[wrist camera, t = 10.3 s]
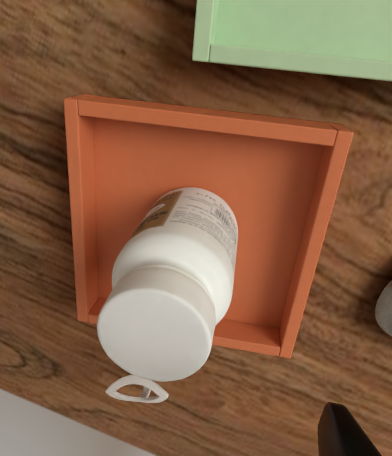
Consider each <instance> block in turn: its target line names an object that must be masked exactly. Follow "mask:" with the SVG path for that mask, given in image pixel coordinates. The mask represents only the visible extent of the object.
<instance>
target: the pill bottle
mask: <svg viewBox="0 0 392 456" xmlns="http://www.w3.org/2000/svg"><path fill="white" fill-rule="evenodd" d="M237 242H238V226H237V221H236V218H235V216H234V213H233V211H232V210H231V208H230V207H229V206H228V204H227V203H226V202H225V201H224V200H223V199H222V198H220V197H219V196H217V195H216V194H214V193H212V192H210V191H207V190H205V189H201V188H195V187H185V188H179V189H175V190H172V191H170V192H168V193H166V194H164V195H163V196H161V197H160V198H159V199H158V200H157V201H156V202H155V204H154V205H153V207H152V208H151V209H150V211H149V212H148V213H147V215H146V216H145V218H144V219H143V221H142V222H141V224H140V225H139V226H138V228H137V229H136V230H135V232H134V233H133V234H132V236H131V237H130V239H129V240H128V242H127V243H126V244H125V246H124V247H123V249H122V250H121V252H120V253H119V255H118V257H117V259H116V261H115V264H114V267H113V271H112V289H113V290H112V292H111V293H110V295H109V297H108V298H107V300H106V302H105V303H104V305H103V307H102V309H101V311H100V314H99V316H98V322H97V333H98V337H99V340H100V343H101V346H102V347H103V349H104V351H105V352H106V354H107V355H108V356H109V357H110V358H111V359H112V360H113V362H115V363H116V364H117V365H118V366H120V367H121V368H122V369H124V370H125V371H127V372H129V373H131V374H133V375H135V376H137V377H140V378H143V379H147V380H152V381H174V380H179V379H183V378H186V377H188V376H190V375H192V374H193V373H195V372H196V371H197V370H199V369H200V368H201V367H202V365H203V364H204V363H205V362H206V360H207V358H208V356H209V354H210V351H211V347H212V341H213V335H214V330H215V325H217V324H218V323H219V322H220V320H221V319H222V318H223V317H224V316H225V314H226V312H227V310H228V308H229V306H230V303H231V299H232V293H233V283H234V272H235V262H236V252H237Z"/></svg>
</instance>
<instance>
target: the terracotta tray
mask: <svg viewBox="0 0 392 456" xmlns="http://www.w3.org/2000/svg"><path fill="white" fill-rule="evenodd" d="M64 113H65V129H66V145H67V161H68V176H69V192H70V208H71V224H72V239H73V255H74V271H75V287H76V303H77V318H78V321H81V322H89V323H93V324H97V322H98V316H99V314H100V311H101V309H102V307H103V305H104V303H105V302H106V300H107V298H108V297H109V295H110V293H111V292H112V290H113V289H112V271H113V267H114V264H115V261H116V259H117V257H118V255H119V253H120V252H121V250H122V249H123V247H124V246H125V244H126V243H127V242H128V240H129V239H130V237H131V236H132V234H133V233H134V232H135V230H136V229H137V228H138V226H139V225H140V224H141V222H142V221H143V219H144V218H145V216H146V215H147V213H148V212H149V211H150V209H151V208H152V207H153V205H154V204H155V202H156V201H157V200H158V199H159V198H160V197H161V196H163V195H164V194H166V193H168V192H170V191H172V190H175V189H179V188H185V187H195V188H201V189H205V190H207V191H210V192H212V193H214V194H216V195H217V196H219V197H220V198H222V199H223V200H224V201H225V202H226V203H227V204H228V206H229V207H230V208H231V210H232V211H233V213H234V216H235V218H236V221H237V226H238V242H237V252H236V262H235V272H234V283H233V293H232V299H231V303H230V306H229V308H228V310H227V312H226V314H225V316H224V317H223V318H222V319H221V320H220V322H219V323H218V324H217V325H215V330H214V335H213V341H212V345H216V346H222V347H228V348H233V349H239V350H245V351H250V352H256V353H261V354H267V355H273V356H280V357H284V358H291V355H292V351H293V348H294V344H295V341H296V337H297V334H298V330H299V326H300V323H301V319H302V316H303V312H304V309H305V305H306V301H307V298H308V294H309V291H310V287H311V284H312V280H313V276H314V273H315V269H316V266H317V262H318V259H319V255H320V251H321V248H322V244H323V241H324V237H325V234H326V230H327V226H328V223H329V219H330V216H331V212H332V209H333V205H334V201H335V198H336V194H337V191H338V187H339V184H340V180H341V176H342V173H343V169H344V166H345V162H346V159H347V155H348V151H349V148H350V144H351V141H352V137H353V132H352V131H350V130H349V129H347V128H346V127H344V126H343V125H341V124H335V123H327V122H318V121H309V120H301V119H292V118H284V117H275V116H266V115H258V114H249V113H241V112H232V111H223V110H215V109H206V108H198V107H189V106H180V105H172V104H163V103H155V102H146V101H138V100H129V99H120V98H112V97H103V96H95V95H86V94H85V95H79V96H74V97H68V98H64Z"/></svg>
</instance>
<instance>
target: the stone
mask: <svg viewBox="0 0 392 456" xmlns="http://www.w3.org/2000/svg"><path fill="white" fill-rule="evenodd" d="M375 318H376V321H377V323H378V325H379V326H380V327H381V329H382V330H383V331H385V332H386V333H387V334H389V335H390V336H392V280H391V281H390V282H389V283H388V285H387V286H386V287H385V288H384V290H383V291H382V293H381V295H380V297H379V299H378V301H377V304H376V308H375Z"/></svg>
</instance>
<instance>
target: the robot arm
mask: <svg viewBox="0 0 392 456" xmlns="http://www.w3.org/2000/svg"><path fill="white" fill-rule="evenodd" d="M318 445H319V456H381V454H380V453H379V451H378V450H377V449H376V447H375V446H374V445H373V443H372V442H371V441H370V439H369V438H368V437H367V435H366V434H365V432H364V431H363V430H362V428H361V427H360V426H359V424H358V423H357V422H356V420H355V419H354V417H353V416H352V415H351V413H350V412H349V411H348V409H347V408H346V407H345V406H344V405H341V404H336V403H331V402H328V403H327V404H326V405H325V407H324V410H323V413H322V415H321V418H320V421H319V424H318Z"/></svg>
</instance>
